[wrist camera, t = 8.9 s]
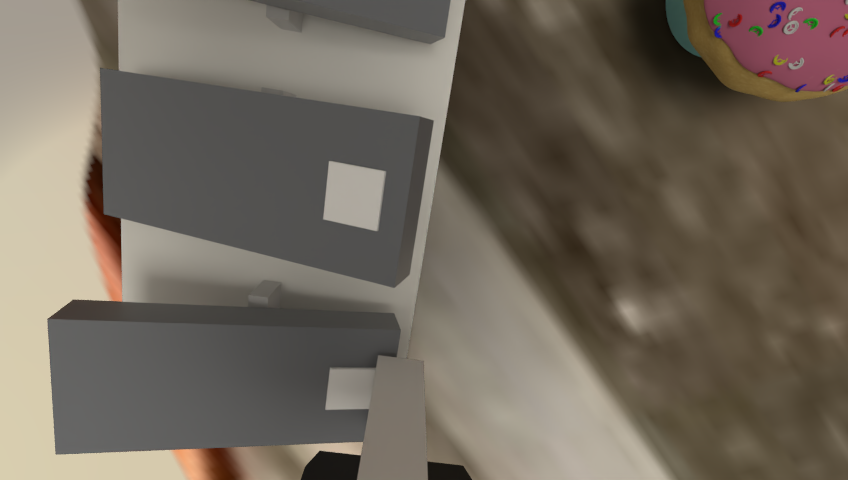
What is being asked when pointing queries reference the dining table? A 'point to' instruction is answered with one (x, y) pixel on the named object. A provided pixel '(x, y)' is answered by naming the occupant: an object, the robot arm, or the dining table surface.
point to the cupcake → (768, 44)
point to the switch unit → (289, 76)
